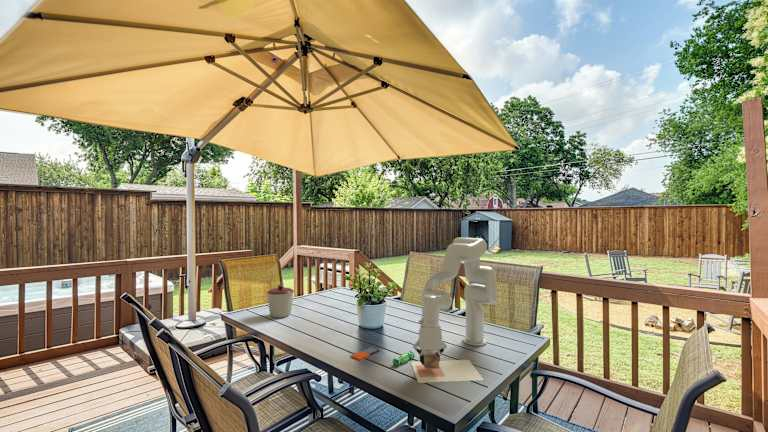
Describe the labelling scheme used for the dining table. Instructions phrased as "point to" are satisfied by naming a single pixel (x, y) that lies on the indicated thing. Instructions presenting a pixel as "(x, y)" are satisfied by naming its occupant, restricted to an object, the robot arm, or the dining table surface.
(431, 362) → the walnut card box
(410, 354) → the candy
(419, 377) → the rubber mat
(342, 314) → the dining table surface
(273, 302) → the canister
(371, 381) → the dining table surface
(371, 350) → the orange grey slab
